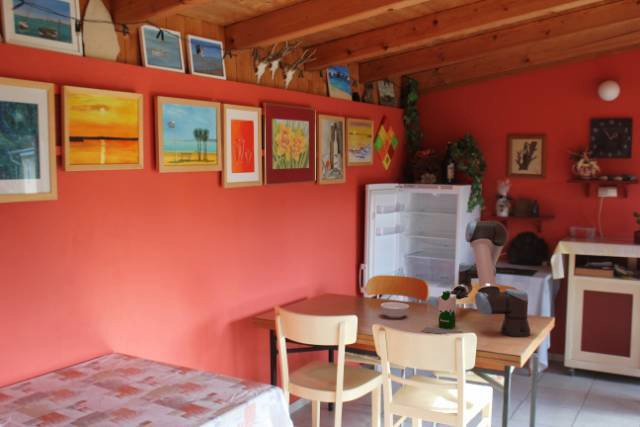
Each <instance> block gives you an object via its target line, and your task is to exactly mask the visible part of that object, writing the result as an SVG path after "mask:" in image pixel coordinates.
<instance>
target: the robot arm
mask: <svg viewBox="0 0 640 427" xmlns="http://www.w3.org/2000/svg"><path fill="white" fill-rule="evenodd" d="M464 235H465V242H467V243H469V245H470V247H471V248H473V253H474V259H475V264H476V265H475V266H473V265H472V263H470V262H460V263H459V265H458V285H457V286H455V287H454V288H453V290H451V291H450V290H446V291H447V292H450V294H454V295H456V300H461V299H465V298H469V294H471V292H472V291H473V288H474V287H473V285H472V280H473V279H475V280H476V279H478V284H479V288H478V289H477V292H476V293H475V295H474V302H475V307H476V309H477V311H478V313H479V314H481V315H504V319H503V321H502V324H501V328H500V333H501V334H502V335H505V336H509V337H516V338H517V337H519V338H522V337H529V336H530V335H531V328H530V324H529V320H528V312H529V311H528V310H529V309H528V307H529V298H528V297H529V296H528V293H527V292H526V291H523V290H520V289H516V288H505V290H504V291H501V288H500V286H498V285H497V282H496V276H497V269H496V264H497V263H498V262H497V261H498V260H499V258H500V255H501V252H502V250H503V247H504V246H506V245H507V243H508V240H509V232H508V230H507V228H506V227H505V225H504V224H502V223H501V222H499V221H496V220H479V221H478V220H474V221H469V222H468V223H467V225H466V227H465V234H464Z"/></svg>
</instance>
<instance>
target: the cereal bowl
mask: <svg viewBox="0 0 640 427" xmlns="http://www.w3.org/2000/svg"><path fill="white" fill-rule="evenodd" d="M380 311H381V313H382V314H383V315H385V316H387V318H389V319H401V318H402V317H406V316H407V314H408V313H409V311H410V305H409V304H407V303H402V302H394V301H393V302H392V301H391V302H390V301H388V302H383V303H381V304H380Z"/></svg>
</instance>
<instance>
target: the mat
mask: <svg viewBox="0 0 640 427" xmlns="http://www.w3.org/2000/svg"><path fill="white" fill-rule="evenodd" d="M420 332H421V333H427V332H428V333H427V334H435V335H442V334H447V333H461V334H463V330H456V329H445V328H439V327H432V326H425V327H424V328H423V329H421V330H420Z"/></svg>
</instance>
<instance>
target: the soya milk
mask: <svg viewBox="0 0 640 427" xmlns="http://www.w3.org/2000/svg"><path fill="white" fill-rule="evenodd" d="M447 291H448V290H446V291H442V293H441V294H440V295H438V328H441V329H449V330H453V329H454V328H455V327H456V320H457V319H456V316H457V314H456V313H457V299H456V295H454V294H450V292H451V291H450V292H447Z"/></svg>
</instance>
